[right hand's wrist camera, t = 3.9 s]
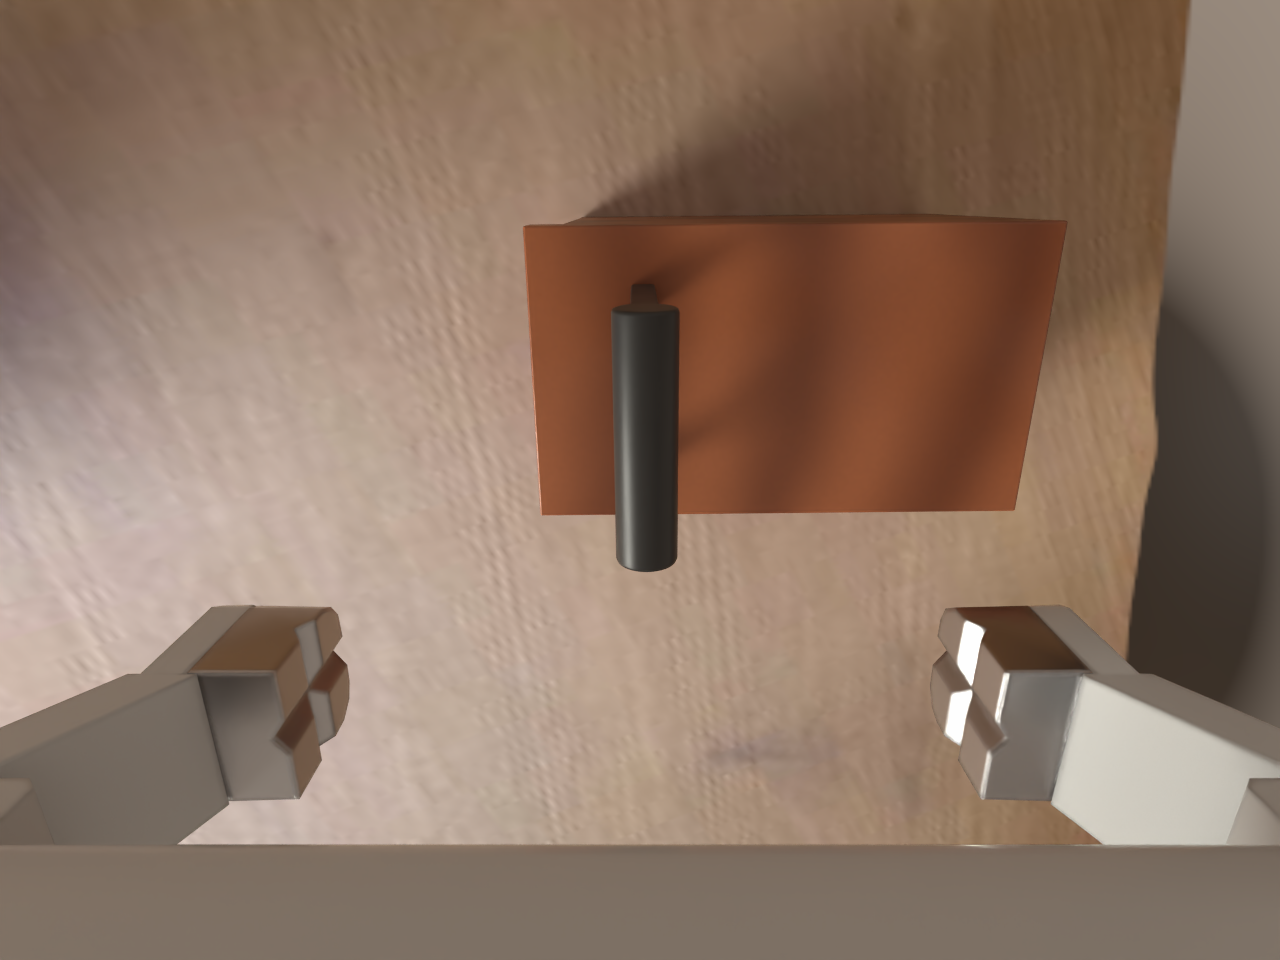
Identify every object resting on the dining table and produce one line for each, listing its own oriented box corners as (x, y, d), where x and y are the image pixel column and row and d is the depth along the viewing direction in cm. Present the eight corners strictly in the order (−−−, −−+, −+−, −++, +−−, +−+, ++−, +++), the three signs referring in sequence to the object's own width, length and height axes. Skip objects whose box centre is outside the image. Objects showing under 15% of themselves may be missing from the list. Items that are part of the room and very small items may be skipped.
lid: (544, 501, 26) (506, 630, 18) (528, 224, 23) (472, 237, 15) (997, 496, 26) (1151, 623, 18) (1045, 219, 23) (1258, 230, 15)
